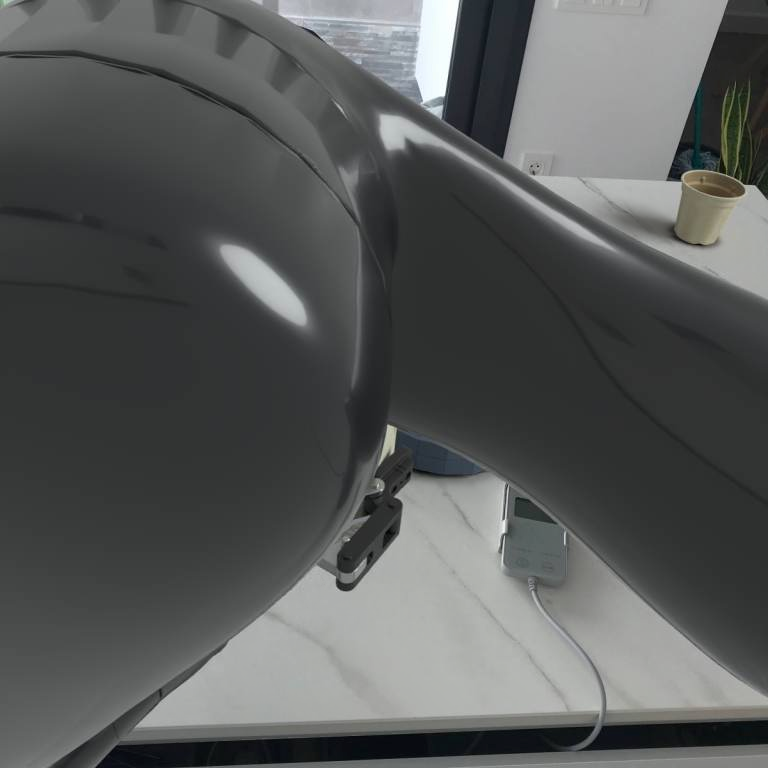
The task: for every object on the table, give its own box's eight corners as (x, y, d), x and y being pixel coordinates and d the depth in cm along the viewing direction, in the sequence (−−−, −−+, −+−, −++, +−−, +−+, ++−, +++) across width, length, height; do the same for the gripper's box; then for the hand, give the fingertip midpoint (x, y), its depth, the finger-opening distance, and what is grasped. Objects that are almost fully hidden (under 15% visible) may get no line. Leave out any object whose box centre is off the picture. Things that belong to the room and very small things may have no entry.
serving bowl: (559, 429, 82) (569, 396, 79) (442, 506, 72) (448, 473, 69) (442, 347, 91) (447, 316, 89) (324, 406, 82) (326, 373, 79)
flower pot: (730, 232, 120) (751, 180, 115) (722, 258, 114) (744, 204, 108) (669, 215, 123) (686, 164, 118) (658, 240, 117) (676, 187, 111)
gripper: (279, 621, 37) (458, 436, 48) (81, 482, 43) (280, 346, 54) (281, 703, 41) (443, 518, 52) (103, 568, 47) (282, 427, 58)
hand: (360, 432), depth 53 cm, fingers closed on cosmetic box, 7 cm apart
